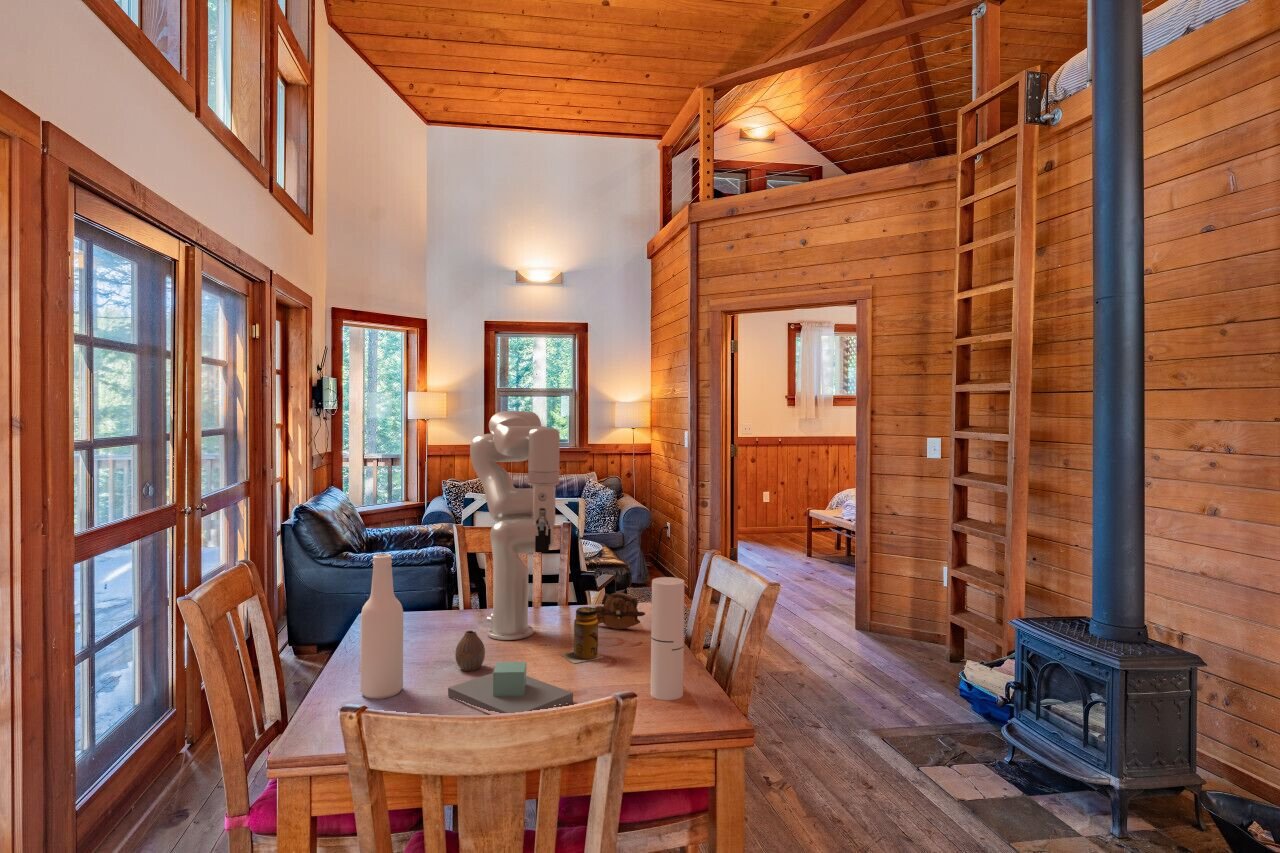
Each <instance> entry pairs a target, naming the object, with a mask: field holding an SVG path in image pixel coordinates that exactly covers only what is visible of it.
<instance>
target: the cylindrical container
mask: <svg viewBox="0 0 1280 853" xmlns="http://www.w3.org/2000/svg"><path fill="white" fill-rule="evenodd" d="M650 621H651V624H650V625H651V626H650V627H651V628H650V630H651V632H650V636H651V637H650V696H651V697H652V698H654V699H657V700H661V701H675V700H679V699H681V698H682V697H683V696H684V645H685V644H684V643H685V642H684V639H685V637H684V636H685V580H684V579H683V578H679V577H672V576H669V577H668V576H662V577H661V576H660V577H655V578H653V579H652V580H651V620H650Z"/></svg>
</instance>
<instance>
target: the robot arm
mask: <svg viewBox="0 0 1280 853" xmlns="http://www.w3.org/2000/svg"><path fill="white" fill-rule="evenodd" d="M488 429H489V431H490V433H485V434H480V435H477V436H475V437H474V438H473V439H472V440H471V443H470V446H469V447H470V448H469V456H470V461H471V465H472V467H473V470H474V472H475V474H476V476H477V477H478V479H479V481H480V482H481V484H482V487H483V492H484V496H485V500H486V504H487V509H488V512H489V514H490V517H491V518H492V521H495V522H496V523H493V525H492V527H491V528H490V531H489V540H490V546H491V552H492V553H491V554H492V564H493V567H492V568H493V574H492V575H493V576H492V577H493V579H492V581H493V582H492V587H493V588H492V589H493V590H492V592H493V593H492V594H493V595H492V613H491V614H490V616H487V617H486V622H489V623H490V625H491V626H489V628H487V630H486V632H487V637H489V638H491V639H495V640H500V641H514V640H515V641H517V640H521V639H525V638H528V637H530V636H532V635H533V634H534V627H533V626H531V625H529V620H528V619H529V569H528V566H527V565H526V563H525V562H524V561H523V560H522V558H521V557H520V555H525V554H532V553H533V554H534V553H549V551H550V549H552V548H553V545H554V543H555V533H554V526H555V524H556V486H558V485H560V447H561V446H560V444H561V443H560V442H561V441H560V440H561V439H560V436H561V435H560V432H559V430H558V429H557V428H554V427H549V426H542V422H541V419H540V417H539V415H538V414H536V412H533V411H528V410H527V411H526V410H525V411H521V410H519V411H518V410H517V411H516V410H514V411H512V410H510V411H509V410H504V411H498V412H497V413H495V414H493V415H492V416H491V418H490V420H489V422H488ZM524 461H528V463H527V465H528V466H527V469H528V471H527V472H528V473H527V475H528V476H527V479H528V480H527V482H528V483H527V484H528V485H529V486H532V488H530V487H528V488H525V487H524V488H519V487H518V488H516V487H515V486H514V483H513V478H512V476H511V475H510V474H509V472H508V471H507V470H505V468H504V467H502V466H501V465H499V464H498V463H520V462H521V463H522V462H524Z"/></svg>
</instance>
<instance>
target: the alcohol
mask: <svg viewBox="0 0 1280 853" xmlns="http://www.w3.org/2000/svg"><path fill="white" fill-rule="evenodd" d="M392 559H393V555H392V554H390V553H381V554H380V553H379V554H375V555H373V556H372V560H373V561H372V565H373V566H372V568H373V569H372V575H371V576H372V578H371V588H370V589H371V591H370V596H369V598H368V600H366V602H364V605H362V608H361V614H360V668H359V669H360V676H359V678H360V681H359V682H360V689H359V690H360V692H361V695H362V696H363V697H365V698H367V699H371V700H380V699H388V698H391V697H394V696H396V695H398V694H399V693H401V690H402V689H403V687H404V609H403V605H402V603H401V602H400V601H399V599H398V598H397V597H396V596H395V592H394V581H393V580H394V579H393V569H392V568H393V567H392V565H393V560H392Z"/></svg>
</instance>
